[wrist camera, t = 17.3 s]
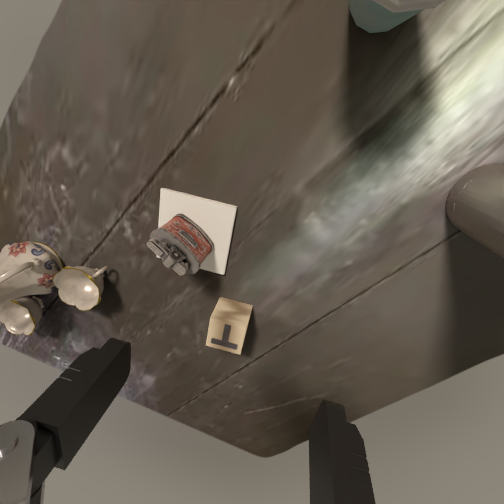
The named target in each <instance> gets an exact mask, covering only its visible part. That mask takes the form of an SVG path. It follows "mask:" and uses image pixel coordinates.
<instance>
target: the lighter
mask: <svg viewBox="0 0 504 504" xmlns="http://www.w3.org/2000/svg"><path fill="white" fill-rule="evenodd" d="M147 246H148V247H149V248H150V249H151V250H152V251H153V252H155V253H156V254H157V255H158V256H159V257H160V258H161V259H162V261H163V264H164V265H165V266H166V267H167V268H171V269H174V270H175V271H176V272H177V273H178V274H179V275H183V274H184V273H187V274H195V273H196V272H197V271H198V270H199V268H200V266H201V263H202V262H203V261H204V259H205V258H206V257H207V255H208V254H210V253H211V252H212V250H213V249H214V243H213V241H212V240H211V239H210V237H209V236H208V235H207V233H206V232H205V231H204V230H203V229H202V228H201V227H200V226H199V225H198V224H196V223H195V222H194V221H193V220H191V219H190V218H188V217H187V216H185V215H184V214H180V213H179V214H176V215H175V216H174V217H172V219H171V220H170V221H169V222H167V223H166V224H164V225H163V226H162V227H159V228H157V229H155V230H154V231H152V233H151V234H150V240H149V241H148V242H147Z"/></svg>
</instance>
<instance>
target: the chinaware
mask: <svg viewBox="0 0 504 504" xmlns="http://www.w3.org/2000/svg"><path fill="white" fill-rule="evenodd" d="M107 268H108V266H105V267H103V268H102V269H100V270H98V268H97V269H93V268H90V267H86V266H78V267H70V266H66V267H64V268H63V264H62V261H61V259H60V257H59V256H58V255H57V253H56V252H55V251H54V250H53V249H52V248H50V247H49V246H47V245H45V244H43V243H40V242H29V241H26V242H21V243H9V244H7V245H5V247H4V248H3V249H2V251H1V253H0V322H1V323H3V324H5V323H6V324H5V326H6V328H7V330H8V331H9V332H10V333H12V334H17V335H18V334H23V333H24V334H25V335H32V334H33V332H34V330H35V326H36V325H37V323H38V322H39V321H40V319H41V317H42V308H43V307H45V306H44V305H43V302H42V299H39V298H37V297H35V296H34V295H41V294H49V293H52V292H53V291H54V289H55V287H57V289H58V288H59V289H58V295H59V297H60V299H61V301H62V302H64V303H66V304H68V305H73V306H75V305H76V307H77V308H78V309H79V310H81V311H88V310H90V309H92V308H93V307H94V306H96V305H98V303H99V302H100V301H101V294H102V292H103V289H104V281H103V277H104V276H105V275H103V274H102V273H104V271H105V270H106V269H107ZM27 295H33V297H28V296H27Z"/></svg>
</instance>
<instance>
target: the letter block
mask: <svg viewBox="0 0 504 504" xmlns="http://www.w3.org/2000/svg"><path fill="white" fill-rule="evenodd" d="M252 307H253V306H252V305H249V304H245V303H241V302H237V301H233V300H230V299H226V298H222V297H220V299H219V301H218V303H217V305H216V307H215V309H214V311H213V313H212V315H211V317H210V323H209V329H208V335H207V341H206V345H207V346H210V347H214V348H217V349H221V350H225V351H228V352H232V353H236V354H239V355H240V354H241V350H242V347H243V343H244V339H245V336H246V332H247V328H248V324H249V320H250V315H251V311H252Z"/></svg>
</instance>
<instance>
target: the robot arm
mask: <svg viewBox="0 0 504 504" xmlns="http://www.w3.org/2000/svg"><path fill="white" fill-rule="evenodd" d="M446 212H447V216H448V218H449V220H450V222H451V223H452V224H453V225H454V226H455V227H456V228H458V229H459V230H461V231H462V232H464V233H465V234H467V235H468V236H469V237H471V238H472V239H474V240H475V241H477V242H478V243H480V244H481V245H483V246H484V247H486V248H487V249H489V250H490V251H492V252H493V253H495V254H496V255H498V256H499V257H501V258H502V259H504V164H490V165H484V166H481V167H479V168H476V169H474V170H472V171H470V172H469V173H467V174H466V175H464V176H463V177H462V178H461V179H460V180H459V181H458V182H457V183H456V184H455V185H454V187H453V188H452V190H451V191H450V193H449V196H448V198H447V204H446ZM130 363H131V344H130V343H129V342H125V341H122V340H118V339H115V338H111V339H109V340H108V341H107V342H106V343H105V344H104V345H103V346H102V348H101V349H98V348H94V347H93V348H92V349H90V350H88V351H86V352H85V353H83V354H81V355H80V356H79V357H78V358H77V359H76V360H75V361H74V362H73V363H72V364H71V365H70V366H69V368H68V369H66V370H65V371H64V372H63V373H62V374H61V375H60V377H59V378H57V379H56V380H55V381H54V382H53V383H52V384H51V385H50V386H49V388H47V389H46V390H45V392H44V393H43V394H42V395H41V396H40V397H39V398H38V399H37V400H36V401H35V402H34V403H33V404H32V405H31V406H30V407H29V408H28V409H27V410H26V411H25V412H24V413H23V414H22V415H21V416H20V417H19V418H17V419H16V420H14V421H9V422H6V423H4V424H1V425H0V504H43V499H44V488H45V479H46V478H47V476H48V475H49V473H50V472H51V471H52V469H53V468H54V467H56V468H60V469H63V470H65V469H66V468H67V466H68V465H69V463H70V462H71V461H72V459H73V457H74V456H75V455H76V453H77V452H78V450H79V449H80V447H81V446H82V444H83V443H84V442H85V440H86V439H87V437H88V436H89V434H90V433H91V432H92V430H93V429H94V427H95V426H96V424H97V423H98V422H99V420H100V419H101V417H102V416H103V414H104V413H105V411H106V410H107V409H108V407H109V406H110V404H111V403H112V401H113V400H114V398H115V397H116V395H117V394H118V393H119V391H120V390H121V388H122V387H123V385H124V384H125V382H126V380H127V378H128V376H129V373H130ZM309 467H310V504H375V499H374V494H373V488H372V483H371V478H370V474H369V467H368V462H367V460H366V451H365V446H364V441H363V439H362V437H361V435H360V433H359V431H358V429H357V427H356V425H354V424H351V423H348V422H347V421H346V414H345V409H344V406H343V405H340V404H337V403H333V402H330V401H327V400H323V401H322V403H321V405H320V407H319V409H318V411H317V413H316V415H315V417H314V420H313V422H312V424H311V428H310V434H309Z"/></svg>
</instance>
